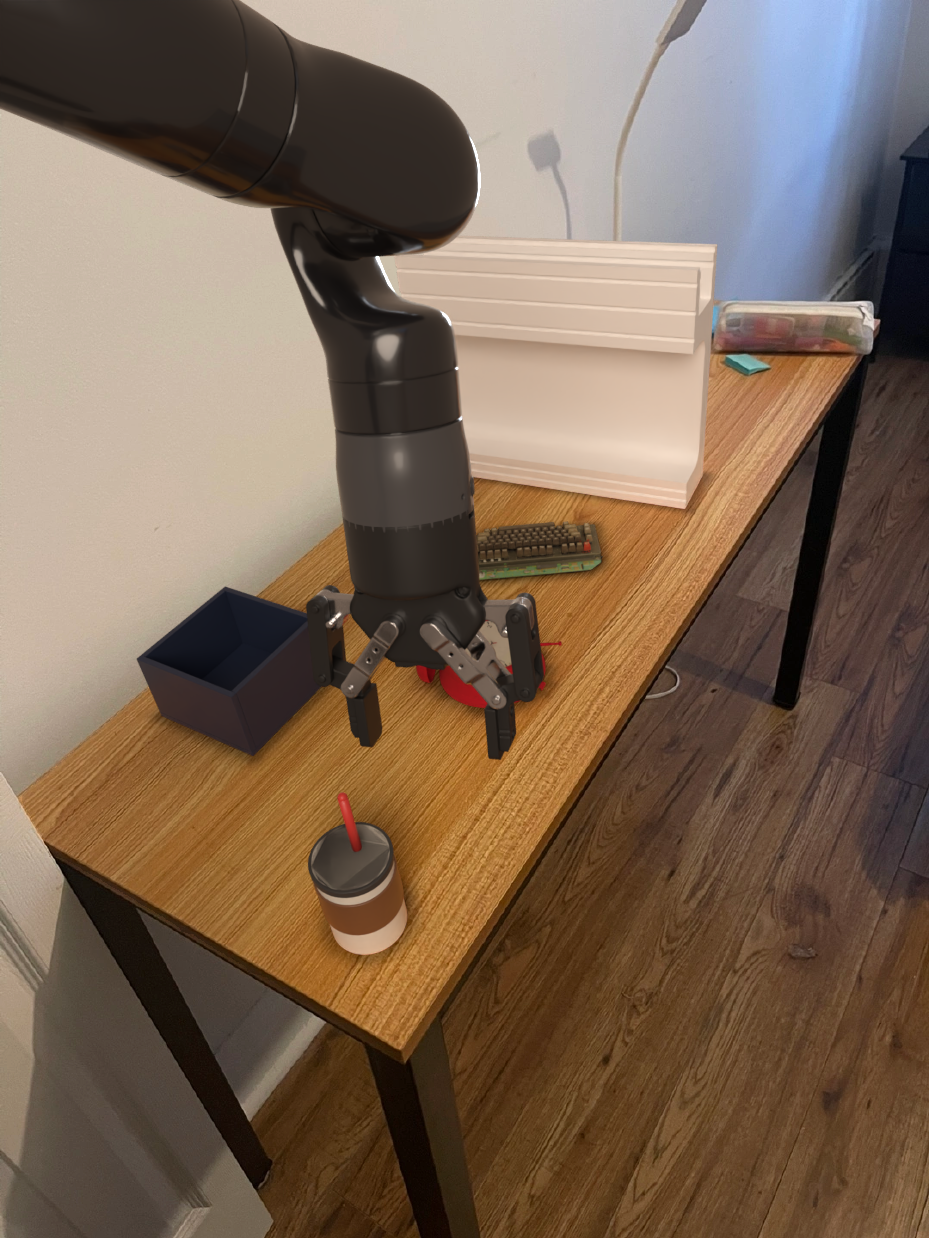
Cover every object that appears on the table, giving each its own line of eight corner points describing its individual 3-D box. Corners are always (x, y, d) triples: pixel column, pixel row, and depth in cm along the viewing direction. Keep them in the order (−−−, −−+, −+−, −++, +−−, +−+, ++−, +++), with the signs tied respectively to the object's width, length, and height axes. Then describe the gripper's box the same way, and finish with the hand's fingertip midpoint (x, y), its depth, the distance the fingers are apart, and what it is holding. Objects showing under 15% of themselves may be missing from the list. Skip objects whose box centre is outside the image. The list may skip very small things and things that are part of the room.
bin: (253, 756, 84) (231, 697, 80) (161, 716, 90) (135, 658, 85) (333, 674, 92) (317, 616, 87) (244, 642, 98) (225, 586, 93)
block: (702, 475, 114) (717, 244, 96) (685, 509, 108) (697, 270, 91) (453, 441, 128) (426, 234, 110) (426, 469, 122) (394, 256, 105)
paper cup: (379, 970, 66) (342, 853, 57) (313, 935, 69) (270, 818, 60) (424, 905, 70) (397, 786, 61) (361, 874, 73) (326, 756, 64)
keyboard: (595, 526, 108) (595, 511, 106) (605, 571, 101) (604, 556, 99) (412, 542, 109) (410, 528, 108) (409, 587, 102) (406, 573, 101)
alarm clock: (524, 698, 81) (382, 629, 85) (515, 740, 86) (381, 673, 90) (572, 628, 88) (438, 568, 92) (561, 671, 92) (434, 612, 97)
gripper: (263, 520, 51) (307, 768, 57) (513, 523, 46) (530, 791, 53) (321, 483, 57) (354, 710, 63) (544, 483, 53) (556, 726, 59)
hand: (434, 746), depth 58 cm, fingers open, 8 cm apart
